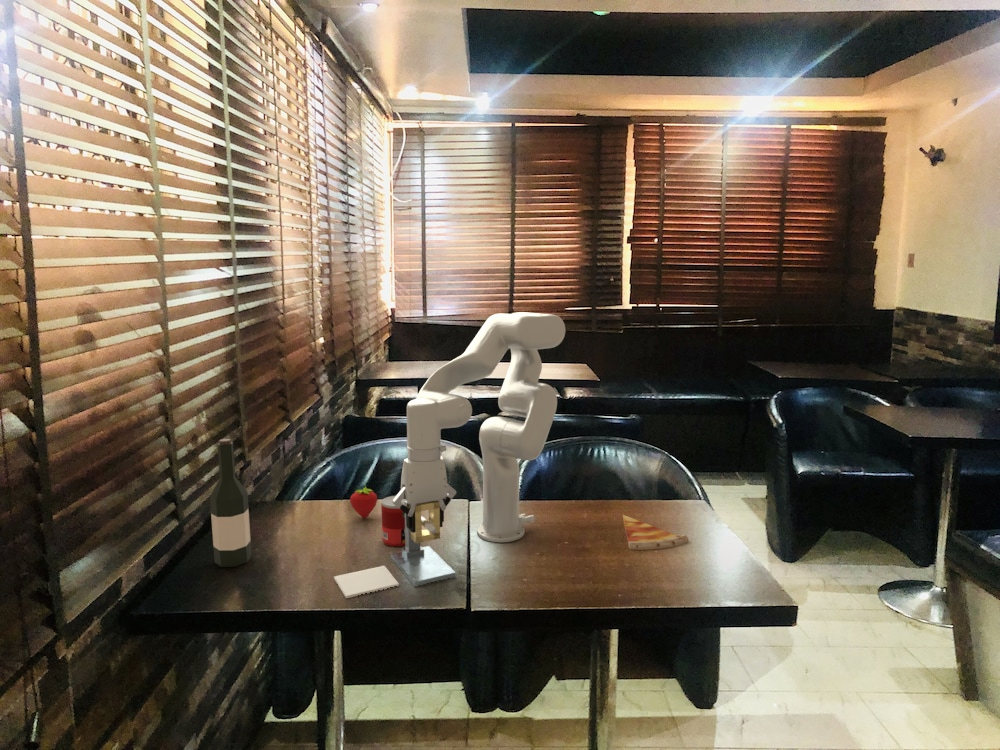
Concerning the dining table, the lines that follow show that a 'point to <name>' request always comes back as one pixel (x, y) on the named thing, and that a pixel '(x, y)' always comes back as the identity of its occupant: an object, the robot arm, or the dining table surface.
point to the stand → (421, 560)
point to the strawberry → (363, 501)
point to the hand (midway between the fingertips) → (425, 527)
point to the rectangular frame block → (433, 519)
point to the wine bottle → (229, 513)
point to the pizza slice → (649, 536)
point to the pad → (365, 581)
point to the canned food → (392, 522)
